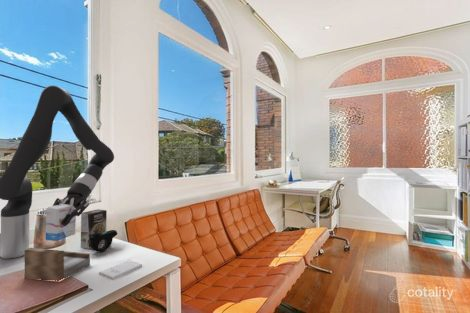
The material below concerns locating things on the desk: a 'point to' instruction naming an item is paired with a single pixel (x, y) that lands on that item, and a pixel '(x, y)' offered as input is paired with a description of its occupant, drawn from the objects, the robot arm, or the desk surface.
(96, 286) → the desk surface
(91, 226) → the coffee box
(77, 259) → the brown open tray
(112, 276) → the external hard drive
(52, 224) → the ink box
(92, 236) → the controller
